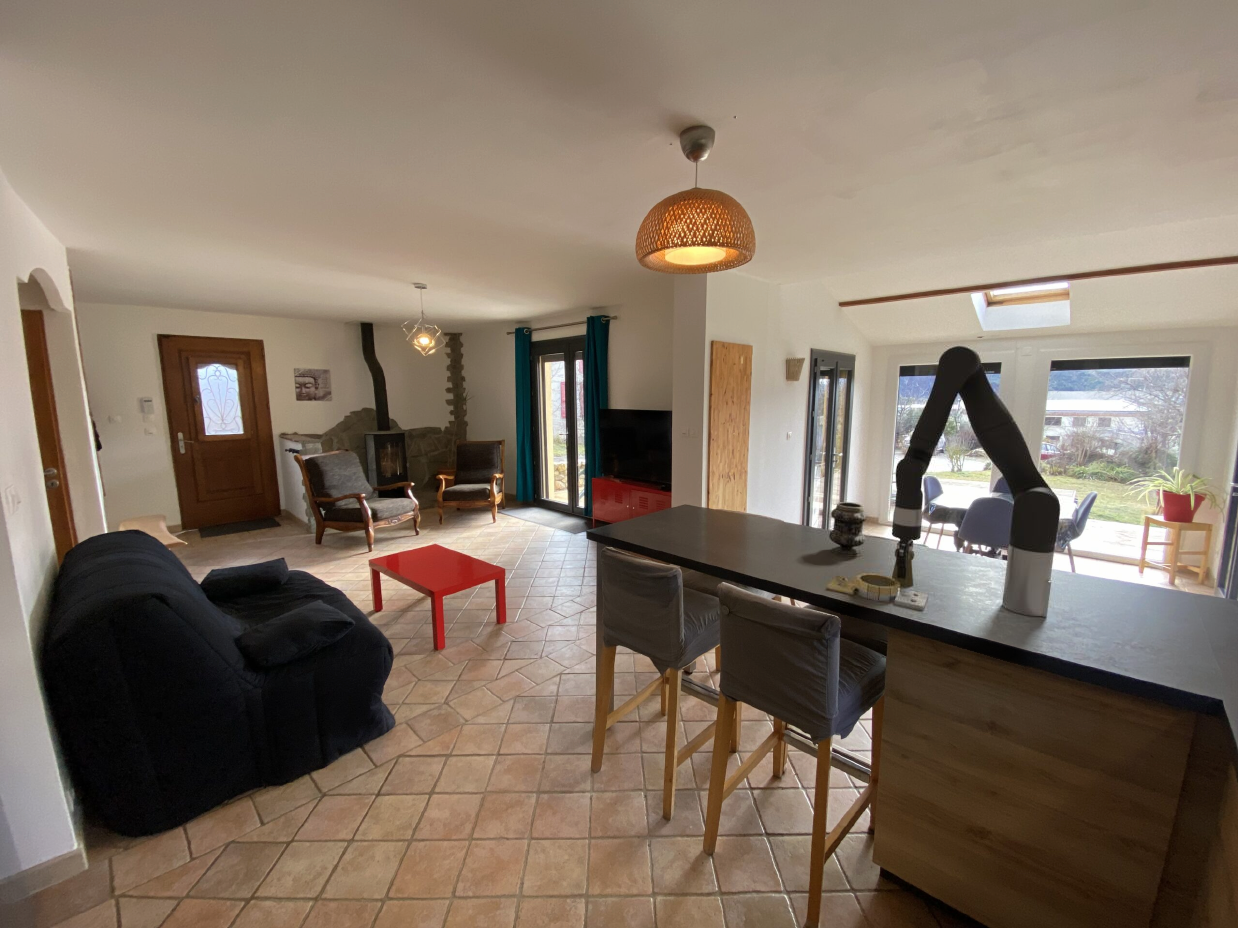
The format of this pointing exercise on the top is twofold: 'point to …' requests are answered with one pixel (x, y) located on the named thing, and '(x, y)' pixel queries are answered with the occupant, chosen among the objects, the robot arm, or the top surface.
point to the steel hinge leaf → (897, 597)
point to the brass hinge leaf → (865, 584)
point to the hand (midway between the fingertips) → (902, 576)
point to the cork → (909, 576)
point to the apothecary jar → (848, 528)
